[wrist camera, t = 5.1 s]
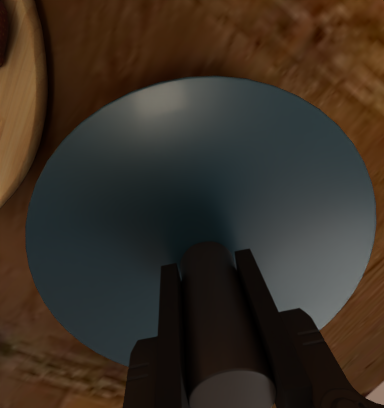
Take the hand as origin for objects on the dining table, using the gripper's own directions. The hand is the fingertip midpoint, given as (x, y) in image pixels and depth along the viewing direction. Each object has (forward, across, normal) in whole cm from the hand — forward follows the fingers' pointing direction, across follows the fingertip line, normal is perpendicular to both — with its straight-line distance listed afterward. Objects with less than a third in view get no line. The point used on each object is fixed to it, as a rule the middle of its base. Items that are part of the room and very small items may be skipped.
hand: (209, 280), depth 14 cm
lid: (+2, 0, 0) cm, 2 cm away
